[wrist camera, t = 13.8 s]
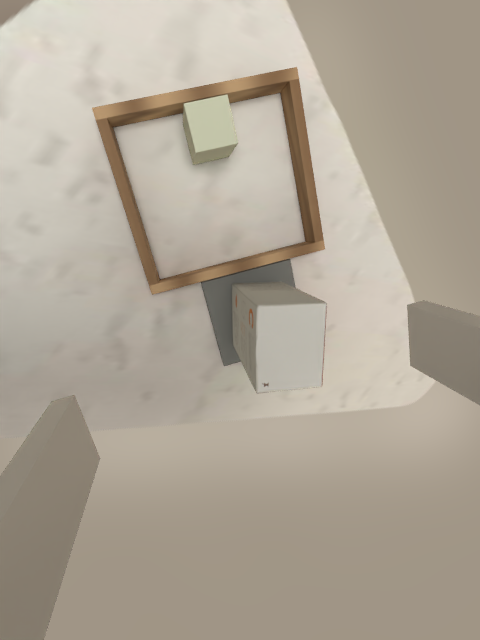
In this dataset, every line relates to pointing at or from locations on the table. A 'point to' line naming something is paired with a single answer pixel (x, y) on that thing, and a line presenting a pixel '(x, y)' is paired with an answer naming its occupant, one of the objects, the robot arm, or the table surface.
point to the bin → (174, 104)
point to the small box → (279, 335)
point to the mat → (221, 300)
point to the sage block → (209, 129)
